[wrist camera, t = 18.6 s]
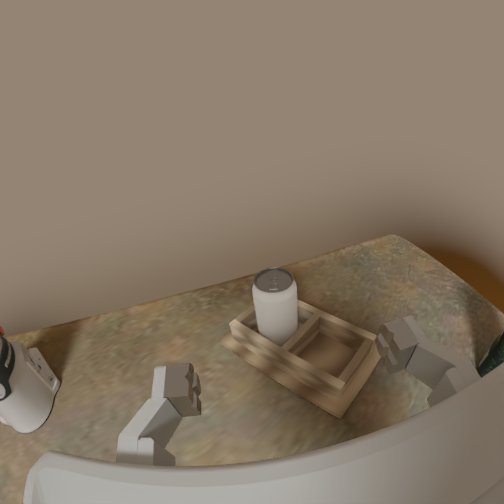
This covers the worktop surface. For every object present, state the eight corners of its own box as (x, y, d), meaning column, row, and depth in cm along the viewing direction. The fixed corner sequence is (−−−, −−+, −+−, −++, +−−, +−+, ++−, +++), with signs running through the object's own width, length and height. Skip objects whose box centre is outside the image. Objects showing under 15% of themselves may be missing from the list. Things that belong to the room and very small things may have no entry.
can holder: (220, 343, 47) (214, 324, 44) (272, 299, 55) (270, 279, 52) (340, 419, 32) (345, 404, 29) (384, 352, 40) (391, 332, 37)
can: (296, 318, 48) (294, 263, 42) (299, 347, 43) (299, 292, 36) (259, 321, 49) (251, 267, 42) (259, 350, 43) (249, 296, 37)
